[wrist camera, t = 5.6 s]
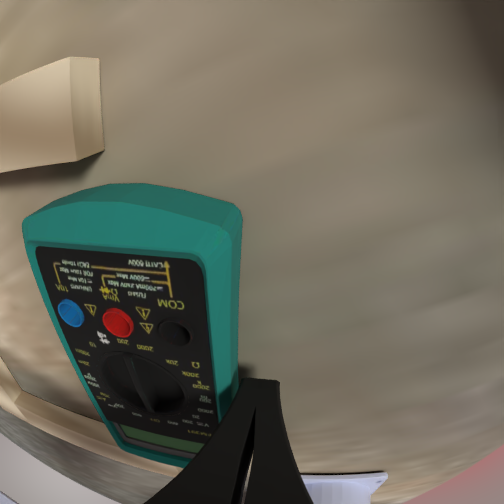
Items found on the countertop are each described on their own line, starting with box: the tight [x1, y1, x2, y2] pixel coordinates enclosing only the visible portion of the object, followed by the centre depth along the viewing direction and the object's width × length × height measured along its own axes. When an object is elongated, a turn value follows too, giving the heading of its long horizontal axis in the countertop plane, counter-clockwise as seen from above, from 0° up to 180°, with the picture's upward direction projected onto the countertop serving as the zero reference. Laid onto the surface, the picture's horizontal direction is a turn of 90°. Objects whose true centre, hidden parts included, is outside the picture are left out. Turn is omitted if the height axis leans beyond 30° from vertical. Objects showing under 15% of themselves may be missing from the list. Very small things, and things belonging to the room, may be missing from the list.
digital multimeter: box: [22, 183, 243, 468], centre depth 12 cm, size 7×15×3 cm, turn 179°
